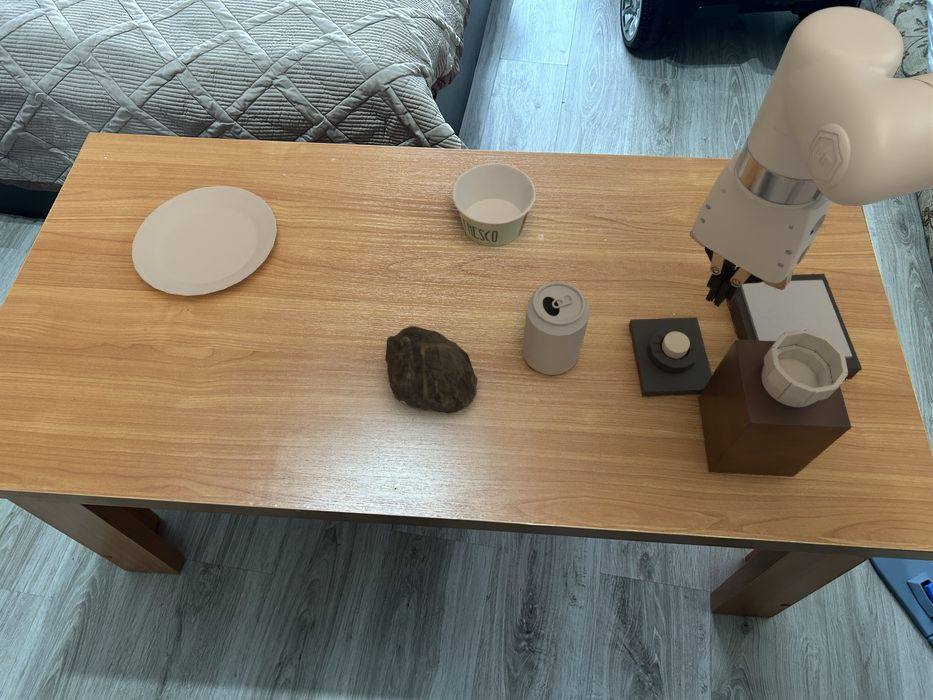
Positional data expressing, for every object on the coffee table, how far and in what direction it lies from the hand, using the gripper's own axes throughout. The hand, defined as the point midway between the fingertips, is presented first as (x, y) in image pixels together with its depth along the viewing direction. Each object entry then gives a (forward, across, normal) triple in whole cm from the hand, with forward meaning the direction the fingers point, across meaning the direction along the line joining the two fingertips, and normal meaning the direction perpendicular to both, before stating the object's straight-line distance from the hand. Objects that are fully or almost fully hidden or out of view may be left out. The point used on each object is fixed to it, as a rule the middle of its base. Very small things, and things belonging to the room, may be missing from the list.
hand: (718, 295), depth 71 cm
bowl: (+3, -11, +2) cm, 12 cm away
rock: (+17, +22, +23) cm, 36 cm away
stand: (+17, -11, +2) cm, 20 cm away
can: (+17, +14, +9) cm, 24 cm away
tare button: (+14, +2, -1) cm, 14 cm away
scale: (+16, -7, -15) cm, 23 cm away
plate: (+16, +63, +29) cm, 71 cm away
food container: (+16, +35, -3) cm, 39 cm away
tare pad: (+16, +2, -1) cm, 17 cm away
